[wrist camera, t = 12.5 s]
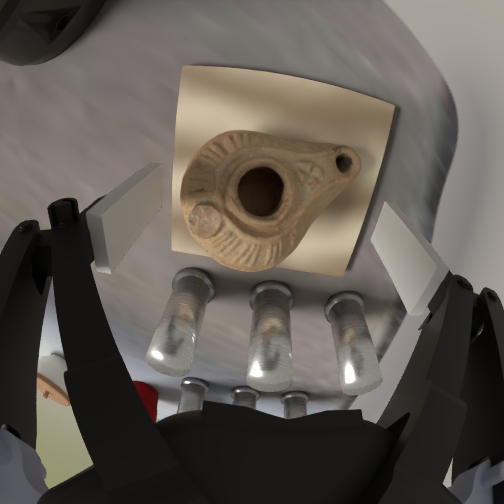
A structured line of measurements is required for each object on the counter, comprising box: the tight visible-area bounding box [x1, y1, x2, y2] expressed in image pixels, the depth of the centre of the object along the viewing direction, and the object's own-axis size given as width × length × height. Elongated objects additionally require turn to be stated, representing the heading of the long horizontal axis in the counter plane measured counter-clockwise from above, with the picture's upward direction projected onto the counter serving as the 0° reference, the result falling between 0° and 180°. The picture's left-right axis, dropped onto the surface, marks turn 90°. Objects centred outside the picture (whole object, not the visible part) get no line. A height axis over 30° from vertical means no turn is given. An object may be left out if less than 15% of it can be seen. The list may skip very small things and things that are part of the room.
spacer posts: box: [146, 268, 383, 419], centre depth 29 cm, size 25×20×10 cm
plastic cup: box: [133, 381, 158, 423], centre depth 37 cm, size 11×11×12 cm
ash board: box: [172, 66, 395, 277], centre depth 21 cm, size 16×16×1 cm
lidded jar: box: [37, 354, 71, 406], centre depth 39 cm, size 11×11×9 cm
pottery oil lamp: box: [180, 130, 361, 272], centre depth 17 cm, size 9×12×7 cm
